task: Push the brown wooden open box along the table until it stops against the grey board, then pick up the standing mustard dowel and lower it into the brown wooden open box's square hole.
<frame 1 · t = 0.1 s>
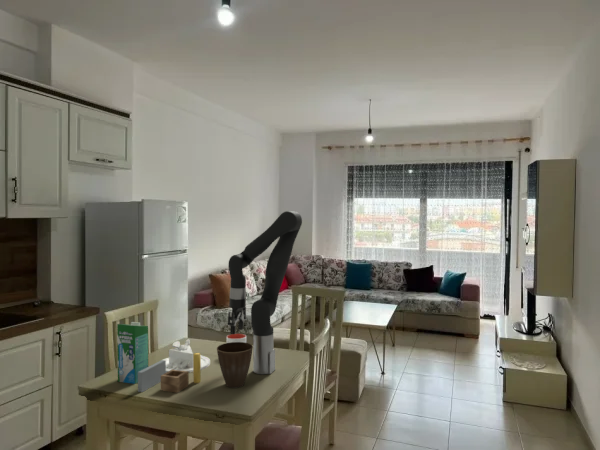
hand: (236, 331, 210), 17 cm above the table, tool pointing down, fingers open, 8 cm apart
wall: (152, 384, 189), on the table
milk carton: (133, 379, 196), on the table
brown wooden open box: (174, 380, 186), point 3 cm above the table, slide at 0.0 cm
dowel: (197, 381, 193), on the table
dish: (183, 365, 216), on the table
cup: (236, 356, 229), on the table
plant pot: (235, 385, 190), on the table
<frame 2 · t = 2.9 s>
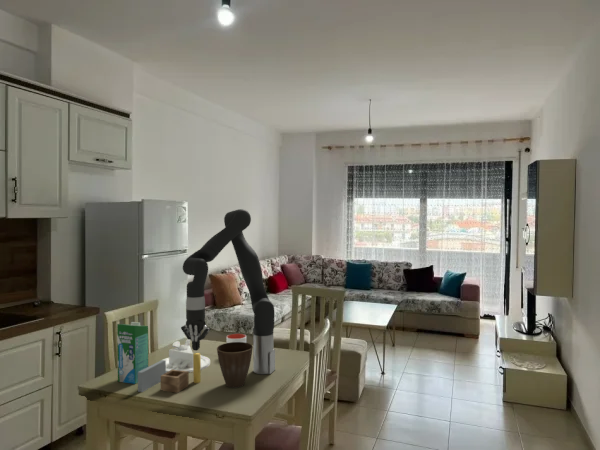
hand: (195, 349, 183), 17 cm above the table, tool pointing down, fingers closed
nothing on the table moved.
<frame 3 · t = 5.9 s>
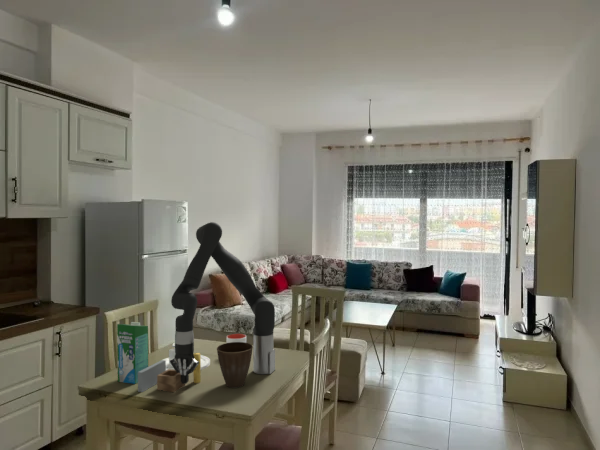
hand: (184, 383, 184), 3 cm above the table, tool pointing down, fingers closed
brown wooden open box: (171, 380, 186), point 3 cm above the table, slide at 1.7 cm, touching gripper
everything else where it was.
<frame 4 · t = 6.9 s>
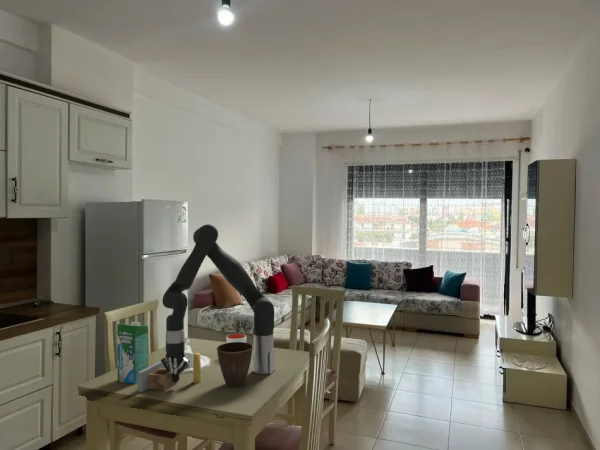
hand: (175, 382, 186), 3 cm above the table, tool pointing down, fingers closed
brown wooden open box: (162, 379, 188), point 3 cm above the table, slide at 6.0 cm, touching gripper, wall
everything else where it was.
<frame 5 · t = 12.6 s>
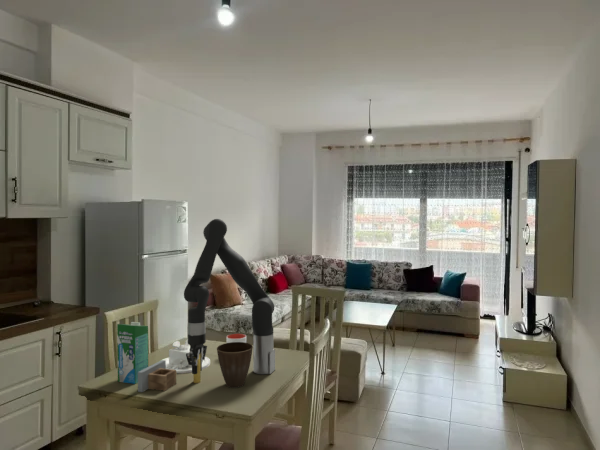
hand: (196, 372, 193), 4 cm above the table, tool pointing down, fingers closed on dowel, 3 cm apart
brown wooden open box: (162, 379, 188), point 3 cm above the table, slide at 6.0 cm, touching wall
dowel: (196, 381, 193), on the table, touching gripper
everything else where it was.
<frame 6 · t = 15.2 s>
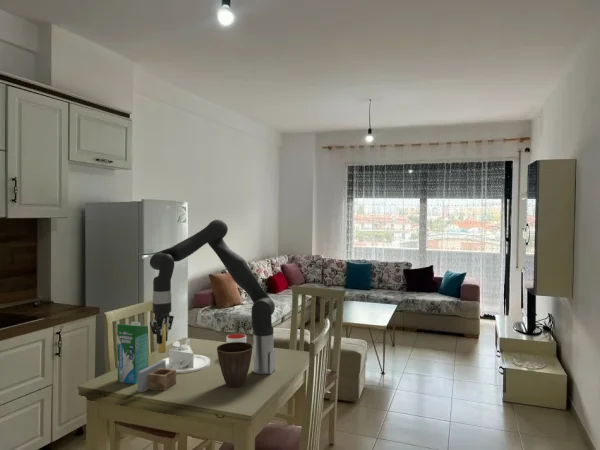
hand: (162, 342, 188), 18 cm above the table, tool pointing down, fingers closed on dowel, 3 cm apart
dowel: (162, 352, 188), point 14 cm above the table, touching gripper
everything else where it was.
when the fingers open (6 cm above the table, at t = 18.1 s): dowel drops 2 cm, resting in brown wooden open box.
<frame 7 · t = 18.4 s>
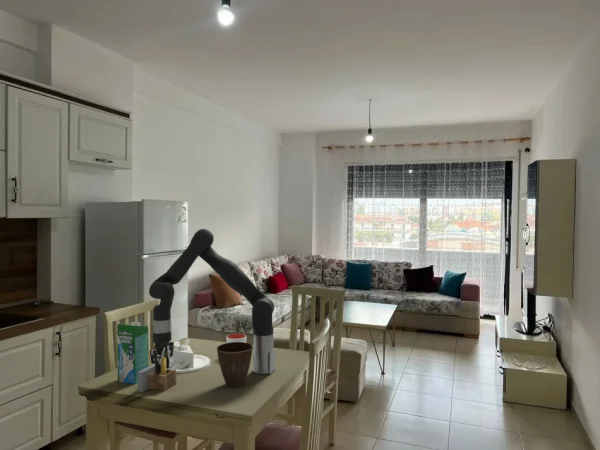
hand: (162, 370, 188), 7 cm above the table, tool pointing down, fingers open, 5 cm apart
dowel: (162, 386, 188), resting in brown wooden open box
everything else where it was.
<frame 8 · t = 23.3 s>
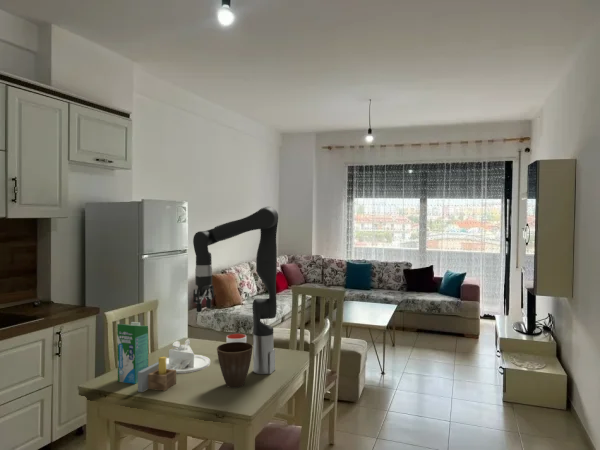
hand: (204, 309, 206), 28 cm above the table, tool pointing down, fingers open, 8 cm apart
nothing on the table moved.
at the end: dowel 0.1 cm off-centre on the brown wooden open box, point 0.0 cm above the brown wooden open box's base; brown wooden open box slide at 6.0 cm; dowel tilted 0° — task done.
